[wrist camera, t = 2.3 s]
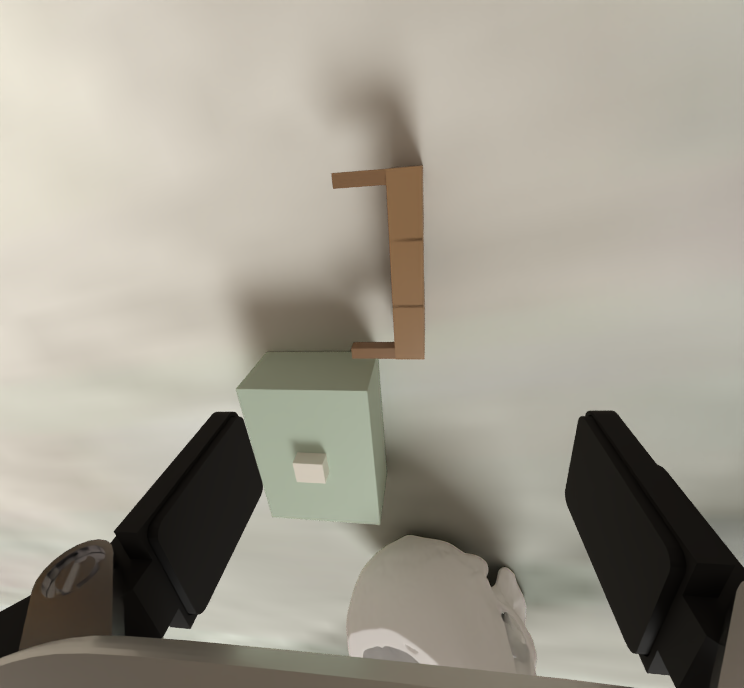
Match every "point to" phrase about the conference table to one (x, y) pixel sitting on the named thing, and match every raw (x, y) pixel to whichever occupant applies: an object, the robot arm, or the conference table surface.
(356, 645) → the skull planter
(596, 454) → the robot arm
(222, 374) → the conference table surface
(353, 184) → the wooden staple shape
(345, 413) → the pale green box
